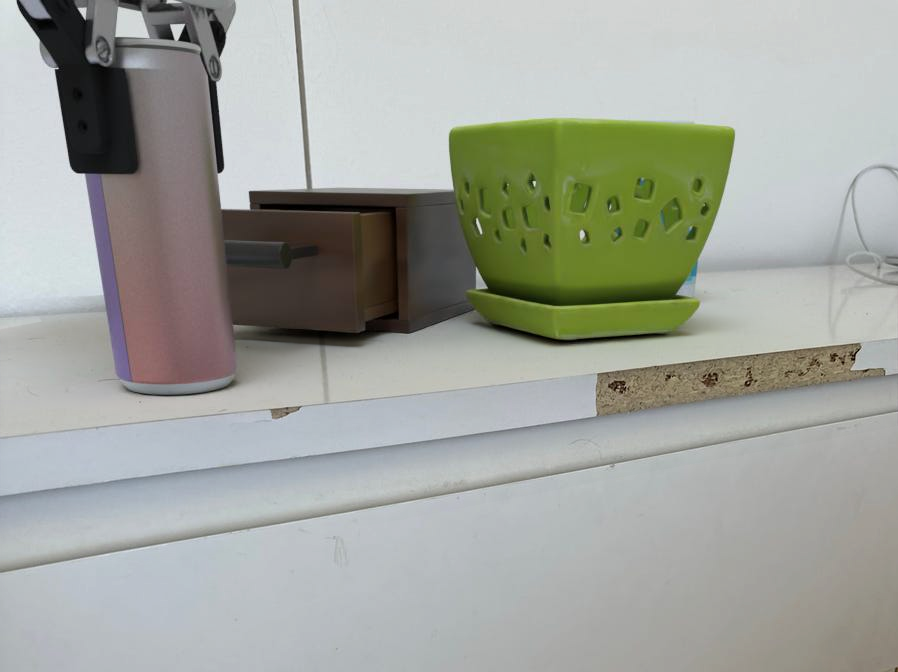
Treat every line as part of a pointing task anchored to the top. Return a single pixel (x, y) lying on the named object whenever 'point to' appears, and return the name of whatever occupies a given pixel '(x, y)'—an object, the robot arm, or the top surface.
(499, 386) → the top surface
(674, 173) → the flower pot
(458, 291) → the cabinet
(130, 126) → the robot arm
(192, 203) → the beverage can
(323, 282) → the drawer
